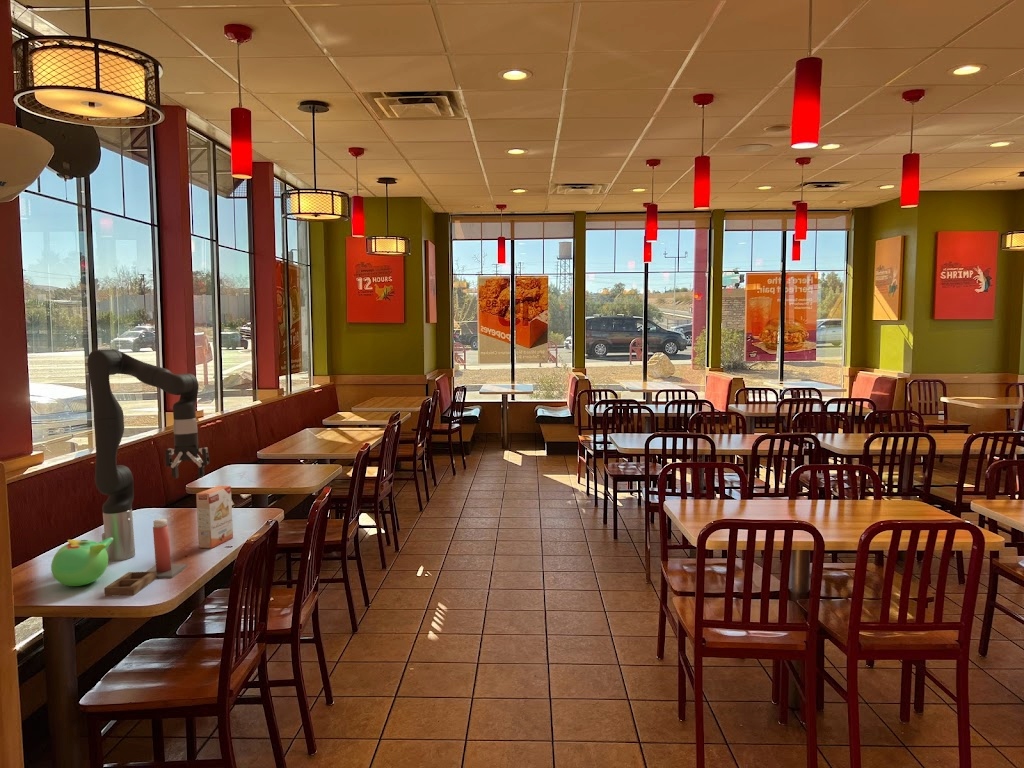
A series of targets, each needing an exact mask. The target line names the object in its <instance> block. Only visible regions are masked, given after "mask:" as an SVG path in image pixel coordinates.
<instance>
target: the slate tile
mask: <svg viewBox="0 0 1024 768" xmlns="http://www.w3.org/2000/svg"><path fill="white" fill-rule="evenodd" d="M185 567H186V568H187V567H188V564H185V563H184V564H171V570H169V571H166V572H156V579H172V578H174V577H175V576H177V575H179V573H181V572H182V571H183V570H185V569H186V568H185ZM184 568H185V569H184ZM154 571H156V564H155V565H153V566H152V567H150V568H149V569H147V570H146V571H145V572H154ZM180 571H181V572H180Z"/></svg>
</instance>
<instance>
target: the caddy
mask: <svg viewBox="0 0 1024 768" xmlns="http://www.w3.org/2000/svg"><path fill="white" fill-rule="evenodd" d="M155 580H157V578H156V571H154V572H146V571H130V572H129V571H128V572H126V573H125V574H124V575H122V576H121V577H119V578H117V579H116V580H114V581H112V582H110V584H108V585H107V586H105V587H104V588H103V589H104V597H113V596H112V595H119V596H135V595H136V594H138V593H139V592H141V591H142V590H143V589H145V588H146V587H147V586H149V585H150V584H151V583H152V582H155ZM148 584H149V585H148Z"/></svg>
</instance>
